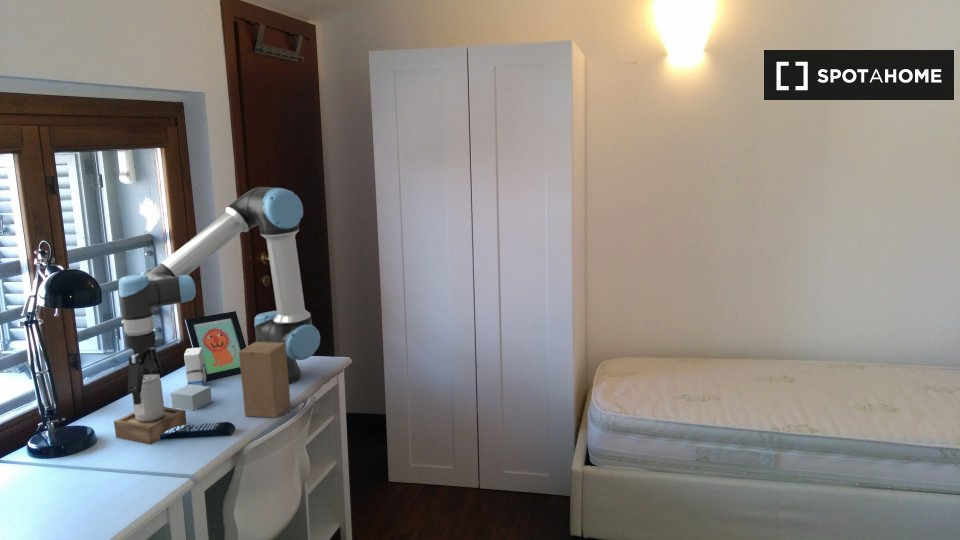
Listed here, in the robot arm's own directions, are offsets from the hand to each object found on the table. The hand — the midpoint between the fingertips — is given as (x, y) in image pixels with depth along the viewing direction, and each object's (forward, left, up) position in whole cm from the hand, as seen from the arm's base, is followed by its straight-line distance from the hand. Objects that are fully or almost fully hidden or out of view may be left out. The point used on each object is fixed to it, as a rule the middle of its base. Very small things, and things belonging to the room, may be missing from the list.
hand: (148, 405), depth 209 cm
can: (0, 0, -4) cm, 4 cm away
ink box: (-34, -17, -8) cm, 39 cm away
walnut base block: (0, 0, -8) cm, 8 cm away
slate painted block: (-20, -5, -8) cm, 22 cm away
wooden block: (-24, +21, -8) cm, 33 cm away
